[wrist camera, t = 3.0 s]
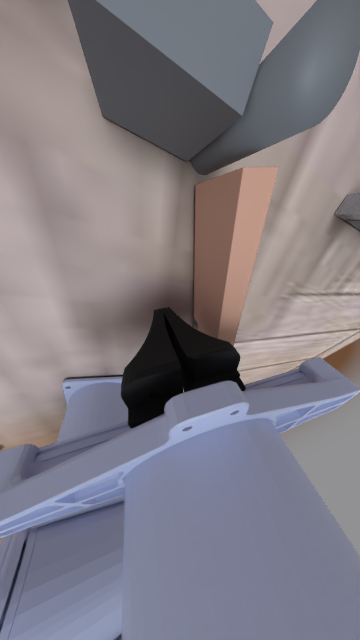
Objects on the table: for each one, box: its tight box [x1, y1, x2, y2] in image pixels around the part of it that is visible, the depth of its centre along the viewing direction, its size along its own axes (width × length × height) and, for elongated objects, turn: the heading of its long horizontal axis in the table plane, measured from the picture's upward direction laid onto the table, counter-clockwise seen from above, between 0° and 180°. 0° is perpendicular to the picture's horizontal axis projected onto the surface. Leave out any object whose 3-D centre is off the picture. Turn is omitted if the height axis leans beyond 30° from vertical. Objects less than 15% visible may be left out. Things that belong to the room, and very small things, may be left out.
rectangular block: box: [194, 167, 279, 346], centre depth 11 cm, size 13×2×5 cm, turn 3°
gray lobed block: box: [68, 0, 360, 175], centre depth 5 cm, size 2×6×7 cm, turn 73°
